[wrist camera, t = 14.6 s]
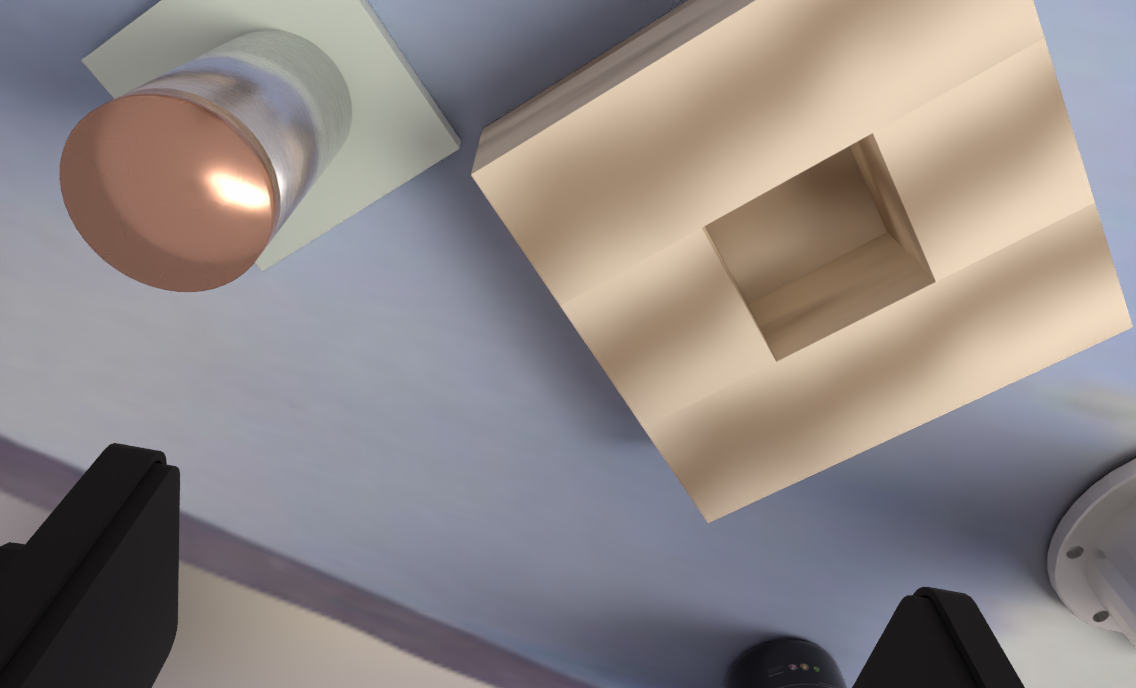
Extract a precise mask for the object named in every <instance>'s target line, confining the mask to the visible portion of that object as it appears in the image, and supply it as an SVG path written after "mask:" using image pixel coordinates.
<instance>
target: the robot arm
mask: <svg viewBox="0 0 1136 688" xmlns="http://www.w3.org/2000/svg"><path fill="white" fill-rule="evenodd" d="M179 505H180V471H179V469H178V467H176V466H171V465H167V464H166V457H165V454H164V453H163V452H161V451H157V450H151V449H145V448H140V447H134V446H129V445H123V444H117V443H113V444H110V445H109V446H108V447H107V448H106V449H105V450H104V451H103V452H102V453H101V454H100V456H99V457H98V458H97V459H96V460H95V462H94V463H93V464H92V465H91V466H90V468H89V469H88V470H87V471H86V472H85V474H84V475H83V476H82V477H81V478H80V480H79V481H78V482H77V483H76V484H75V486H74V487H73V488H72V489H71V490H70V492H69V493H68V494H67V495H66V496H65V498H64V499H63V500H62V501H61V502H60V504H59V505H58V506H57V507H56V508H55V510H54V511H53V512H52V513H51V514H50V516H49V517H48V518H47V519H46V520H45V522H44V523H43V524H42V525H41V526H40V528H39V529H38V530H37V531H36V532H35V534H34V535H33V536H32V537H31V538H30V540H29V541H28V542H27V543H26V544H19V543H11V542H9V543H7V544H5V545H3V546H0V688H152V686H153V684H154V682H155V680H156V678H157V676H158V674H159V672H160V670H161V668H162V667H163V664H164V663H165V661H166V659H167V657H168V655H169V653H170V651H171V648H172V645H173V643H174V639H175V636H176V631H177V624H178V568H179ZM1047 571H1048V574H1049V578H1050V582H1051V585H1052V587H1053V588H1054V590H1055V591H1056V593H1057V595H1058V596H1059V598H1060V599H1061V600H1062V602H1063V603H1064V604H1065V605H1066V607H1067V608H1068V609H1069V610H1070V611H1071V612H1072V614H1074V615H1075V616H1077V617H1078V618H1080V619H1081V620H1083V621H1084V622H1086V623H1088V624H1091V625H1093V626H1096V627H1098V628H1101V629H1105V630H1110V631H1115V632H1121V633H1124V634H1125V635H1126V636H1127V638H1128V639H1129V640H1130V641H1131V643H1132V644H1133V645H1134V647H1135V648H1136V459H1134V460H1132V461H1130V462H1128V463H1126V464H1124V465H1122V466H1121V467H1119V468H1117V469H1115V470H1113V471H1112V472H1110V473H1109V474H1107V475H1106V476H1105V477H1103V478H1102V479H1100V480H1099V481H1098V482H1096V483H1095V484H1094V485H1092V486H1091V487H1090V488H1089V489H1088V490H1087V491H1086V492H1085V493H1084V494H1083V495H1082V496H1081V497H1079V498H1078V499H1077V500H1076V501H1075V503H1074V504H1073V505H1072V506H1071V508H1070V509H1069V510H1068V512H1067V513H1066V514H1065V515H1064V517H1063V518H1062V519H1061V521H1060V523H1059V525H1058V527H1057V529H1056V531H1055V533H1054V535H1053V537H1052V540H1051V544H1050V547H1049V551H1048V560H1047ZM852 688H1025V687H1024V685H1023V684H1022V682H1021V680H1020V679H1019V677H1018V675H1017V673H1016V672H1015V670H1014V668H1013V667H1012V665H1011V663H1010V661H1009V660H1008V658H1007V656H1006V655H1005V653H1004V651H1003V649H1002V648H1001V646H1000V644H999V643H998V641H997V639H996V637H995V636H994V634H993V632H992V630H991V629H990V627H989V625H988V624H987V622H986V620H985V618H984V617H983V615H982V613H981V612H980V610H979V608H978V606H977V605H976V603H975V602H974V601H973V599H972V598H971V597H970V596H968V595H966V594H964V593H959V592H953V591H947V590H942V589H936V588H930V587H921V588H919V589H918V590H916V592H915V593H914V594H913V596H912V595H907V596H906V597H904V598H903V599H902V600H901V602H900V603H899V605H898V607H897V609H896V611H895V612H894V614H893V616H892V618H891V619H890V621H889V623H888V625H887V627H886V628H885V630H884V632H883V634H882V635H881V637H880V639H879V641H878V643H877V644H876V646H875V648H874V650H873V652H872V653H871V655H870V657H869V659H868V660H867V662H866V664H865V666H864V668H863V669H862V671H861V673H860V675H859V677H858V678H857V680H856V682H855V684H854V685H853V687H852Z"/></svg>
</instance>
